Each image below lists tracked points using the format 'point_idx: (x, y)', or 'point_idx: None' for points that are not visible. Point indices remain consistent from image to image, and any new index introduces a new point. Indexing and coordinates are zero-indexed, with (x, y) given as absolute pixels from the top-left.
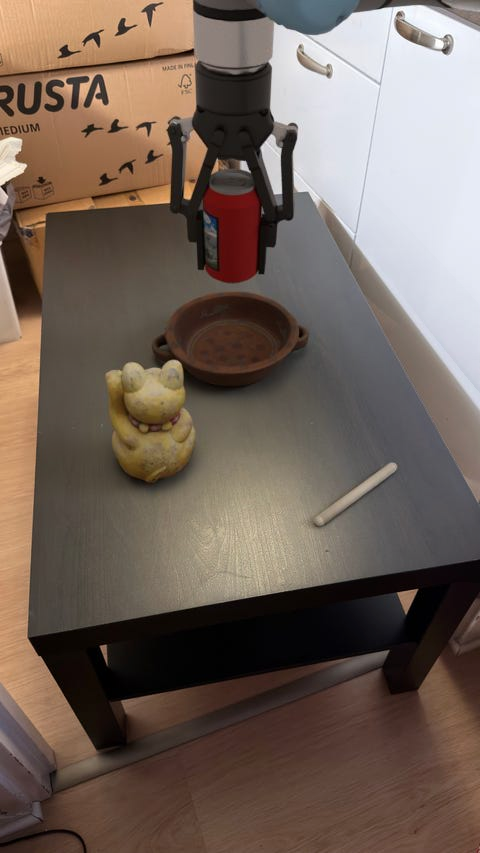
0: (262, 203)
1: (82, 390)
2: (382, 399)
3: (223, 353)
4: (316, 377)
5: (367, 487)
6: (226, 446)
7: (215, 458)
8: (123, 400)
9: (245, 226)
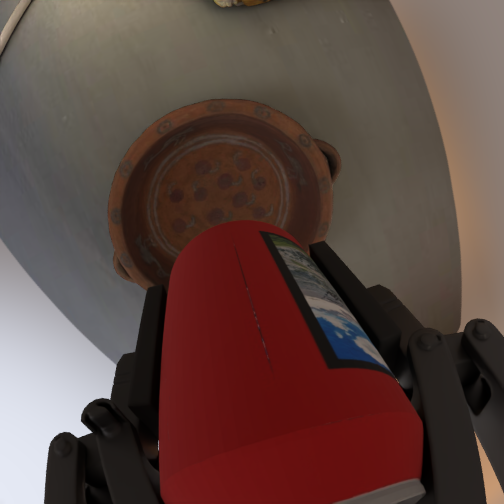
0: (145, 488)
1: (388, 75)
2: (9, 204)
3: (229, 191)
4: (87, 206)
5: None
6: (162, 26)
7: (171, 4)
8: None
9: (183, 378)
